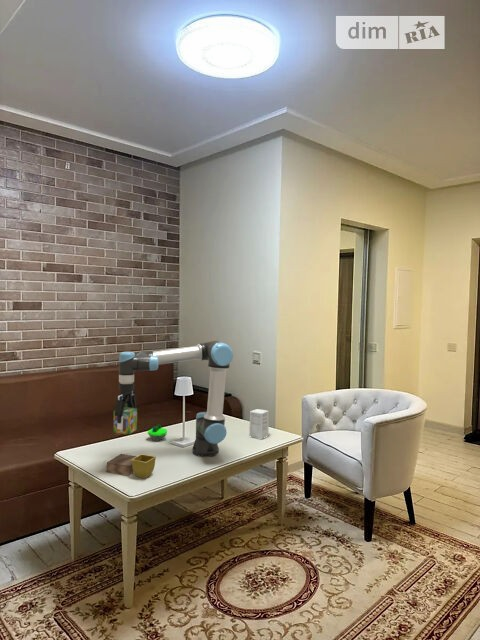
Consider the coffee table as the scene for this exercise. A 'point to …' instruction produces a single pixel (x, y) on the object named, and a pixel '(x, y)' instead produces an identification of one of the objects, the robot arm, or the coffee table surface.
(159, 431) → the green moss planter
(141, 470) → the flower pot
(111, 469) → the podium
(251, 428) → the supplement box
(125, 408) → the chalk box
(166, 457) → the coffee table surface
